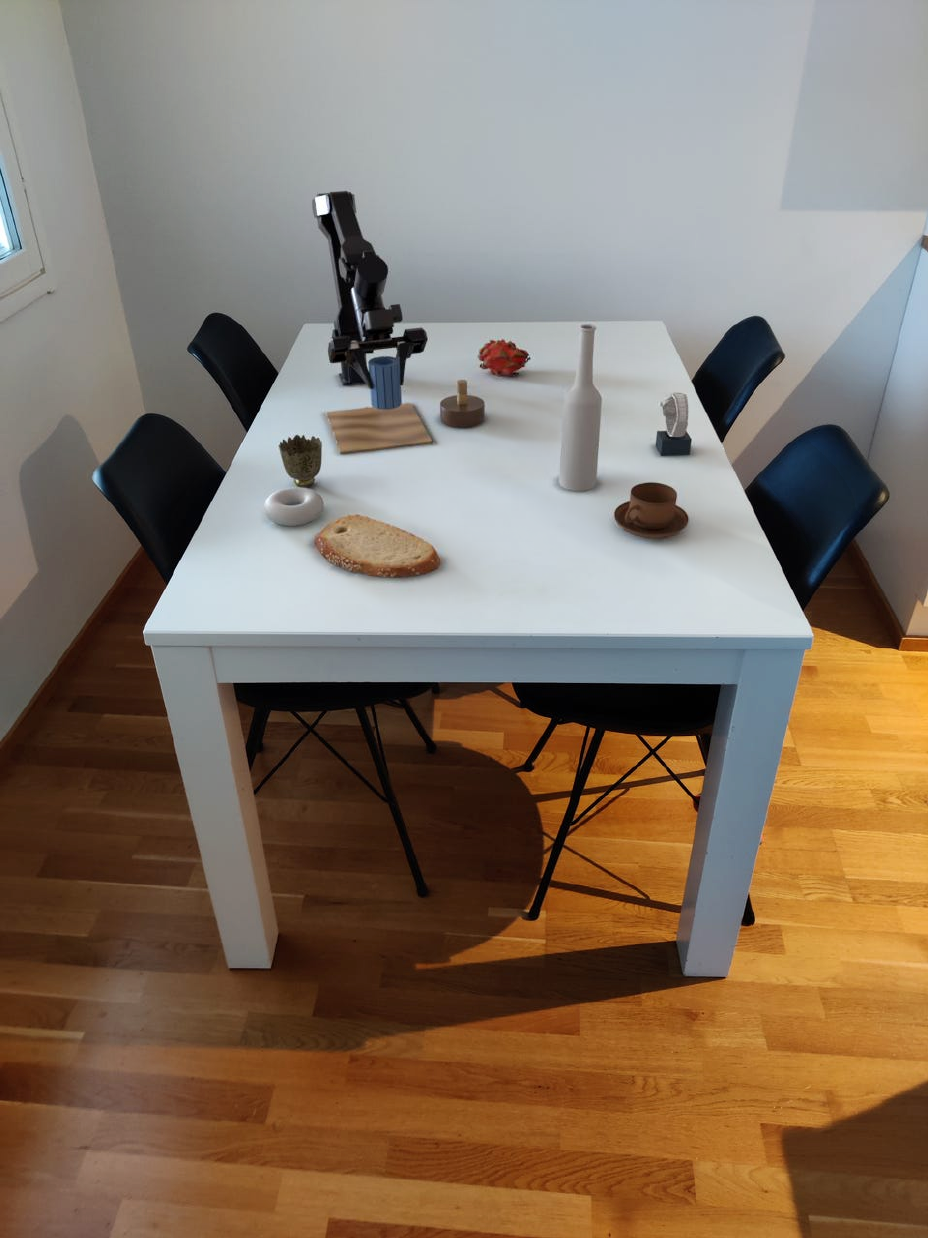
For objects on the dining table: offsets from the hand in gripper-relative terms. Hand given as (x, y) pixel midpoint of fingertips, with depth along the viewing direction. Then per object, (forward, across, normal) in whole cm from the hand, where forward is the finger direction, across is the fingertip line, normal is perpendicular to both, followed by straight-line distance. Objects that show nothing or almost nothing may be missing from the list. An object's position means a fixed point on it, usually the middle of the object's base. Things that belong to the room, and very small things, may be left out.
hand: (386, 386), depth 180 cm
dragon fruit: (-10, +33, +25) cm, 43 cm away
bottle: (+29, +27, -14) cm, 42 cm away
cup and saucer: (+42, +32, -27) cm, 59 cm away
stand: (+5, +16, +10) cm, 19 cm away
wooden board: (+4, -1, +11) cm, 11 cm away
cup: (+18, -19, -3) cm, 27 cm away
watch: (+24, +49, -9) cm, 56 cm away
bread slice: (+38, -13, -23) cm, 46 cm away
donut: (+26, -23, -11) cm, 36 cm away
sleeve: (+2, 0, +4) cm, 4 cm away
